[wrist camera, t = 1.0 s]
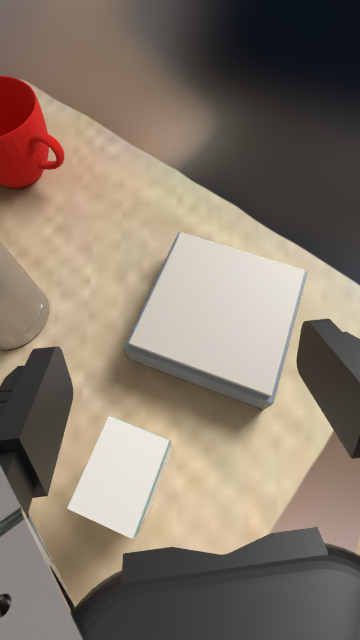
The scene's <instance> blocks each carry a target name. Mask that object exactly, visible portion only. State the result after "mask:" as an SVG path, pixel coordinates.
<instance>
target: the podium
mask: <svg viewBox="0 0 360 640" xmlns="http://www.w3.org/2000/svg"><path fill="white" fill-rule="evenodd" d="M307 273H308V271H305V270H303V269H300V268H297V267H294V266H290V265H287V264H284V263H280V262H277V261H274V260H271V259H267V258H264V257H261V256H258V255H254V254H251V253H248V252H244V251H241V250H238V249H235V248H231V247H228V246H225V245H222V244H218V243H215V242H212V241H208V240H205V239H202V238H199V237H195V236H192V235H189V234H185V233H182V232H181V233H180V232H178V234H177V236H176V239H175V241H174V243H173V245H172V247H171V249H170V251H169V253H168V255H167V258H166V260H165V262H164V264H163V266H162V268H161V270H160V272H159V274H158V277H157V279H156V281H155V283H154V285H153V287H152V289H151V291H150V293H149V296H148V298H147V300H146V302H145V304H144V306H143V308H142V310H141V312H140V315H139V317H138V319H137V321H136V323H135V325H134V327H133V329H132V331H131V334H130V336H129V338H128V340H127V342H126V344H125V346H124V350H125V352H126V354H127V355H128V357H129V359H130V360H132V361H135V362H138V363H140V364H143V365H146V366H148V367H151V368H154V369H156V370H159V371H161V372H164V373H167V374H169V375H172V376H175V377H177V378H180V379H183V380H185V381H188V382H191V383H193V384H196V385H199V386H201V387H204V388H207V389H209V390H212V391H214V392H217V393H220V394H222V395H225V396H228V397H230V398H233V399H236V400H238V401H241V402H244V403H246V404H249V405H252V406H254V407H257V408H260V409H262V410H264V409H265V408H267V407H269V406H270V405H272V404H273V403H274V399H275V395H276V391H277V388H278V384H279V380H280V376H281V372H282V368H283V365H284V361H285V357H286V353H287V349H288V346H289V342H290V338H291V334H292V330H293V326H294V323H295V319H296V315H297V311H298V307H299V304H300V300H301V296H302V292H303V288H304V284H305V281H306V277H307Z"/></svg>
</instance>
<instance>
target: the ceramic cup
mask: <svg viewBox="0 0 360 640" xmlns="http://www.w3.org/2000/svg"><path fill="white" fill-rule="evenodd" d="M49 147H50V148H51V149H52V150H53V152H54V153H55V155H56V161H47V158H48V153H49ZM63 161H64V151H63V149H62V147H61V145H60V144H59V142H58V141H57V140H56V139H55V138H54V137H52V136H51V135H49V134H48V133H47V128H46V124H45V120H44V117H43V114H42V111H41V108H40V105H39V102H38V99H37V97H36V95H35V92H34V91H33V90H32V88H31V87H30V86H29V85H27V84H26V83H24V82H23V81H21V80H18V79H15V78H12V77H7V76H0V185H2V186H7V187H10V188H23V187H27V186H29V185H31V184H33V183H34V182H36V181H37V180H38V179H39V178H40V176H41V174H42V171H43V169H48V170H51V169H56V168H58V167H59V166H61V164H62V163H63Z"/></svg>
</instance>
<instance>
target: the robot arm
mask: <svg viewBox="0 0 360 640" xmlns="http://www.w3.org/2000/svg"><path fill="white" fill-rule="evenodd" d="M48 313H49V305H48V301H47V298H46V296H45V295H44V293H43V292H42V291H41V289H40V288H39V287H38V286H37V285H36V283H35V282H34V281H33V280H32V279H31V277H30V276H29V275H28V274H27V272H26V271H25V270H24V269H23V268H22V266H21V265H20V264H19V263H18V262H17V260H16V259H15V258H14V257H13V256H12V254H11V253H10V252H9V251H8V250H7V248H6V247H5V246H4V245H3V244H2V242H1V241H0V350H10V349H14V348H18V347H20V346H22V345H24V344H26V343H28V342H29V341H31V340H32V339H33V338H34V337H35V336H37V335H38V334H39V332H40V331H41V330H42V328H43V327H44V325H45V323H46V321H47V317H48ZM297 368H298V372H299V374H300V376H301V378H302V380H303V381H304V383H305V384H306V386H307V388H308V389H309V391H310V392H311V394H312V396H313V397H314V399H315V401H316V402H317V404H318V405H319V407H320V409H321V410H322V412H323V413H324V415H325V417H326V418H327V420H328V421H329V423H330V425H331V426H332V428H333V429H334V431H335V432H336V434H337V436H338V437H339V439H340V441H341V442H342V444H343V446H344V447H345V449H346V450H347V452H348V454H349V455H350V457H351V458H352V459H353V458H360V339H359V338H357V337H355V336H353V335H351V334H349V333H348V332H342V331H341V330H340V329H339V328H338V327H337V326H336V325H335V324H334V323H333V322H332V321H331V320H330V319H320V320H311V321H305V322H304V323H303V324H302V328H301V334H300V340H299V347H298V353H297ZM72 400H73V386H72V381H71V378H70V375H69V372H68V368H67V365H66V362H65V359H64V356H63V353H62V350H61V348H60V347H58V346H57V347H47V348H38V349H33V351H32V352H31V354H30V356H29V358H28V360H27V362H26V364H25V366H18V367H17V368H15V369H14V370H13V371H12V372H11V373H10V374H9V375H8V376H7V377H6V378H5V379H4V381H3V383H2V384H1V386H0V640H360V539H359V543H358V546H357V550H356V553H354V552H351V551H349V550H347V549H344V548H341V547H338V546H334V545H331V544H327V543H324V542H323V540H322V537H321V535H320V533H319V530H318V528H317V527H315V528H307V529H300V530H293V531H285V532H278V533H271V534H269V535H266V536H264V537H262V538H260V539H258V540H256V541H254V542H252V543H250V544H248V545H245V546H243V547H241V548H239V549H237V550H235V551H233V552H231V553H228V554H225V555H218V554H212V553H206V552H200V551H193V550H187V549H181V548H175V547H168V548H161V549H154V550H147V551H139V552H132V553H125V554H123V567H122V570H121V571H119V572H117V573H115V574H113V575H112V576H110V577H108V578H107V579H105V580H104V581H102V582H101V583H100V584H98V585H97V586H96V587H95V588H94V589H92V590H91V591H90V592H89V593H88V594H87V595H86V596H85V597H84V598H83V599H82V600H81V601H80V602H79V603H78V605H77V606H76V604H75V602H74V600H73V598H72V596H71V594H70V592H69V591H68V589H67V587H66V585H65V583H64V581H63V579H62V578H61V576H60V574H59V572H58V570H57V568H56V566H55V564H54V562H53V560H52V558H51V556H50V554H49V552H48V550H47V548H46V546H45V544H44V542H43V540H42V538H41V536H40V534H39V532H38V530H37V528H36V526H35V524H34V522H33V520H32V518H31V516H30V514H29V513H28V511H29V508H30V504H31V501H32V498H35V497H43V496H48V492H49V489H50V485H51V481H52V477H53V473H54V469H55V466H56V462H57V458H58V454H59V450H60V447H61V443H62V439H63V435H64V431H65V427H66V424H67V420H68V416H69V412H70V408H71V405H72Z"/></svg>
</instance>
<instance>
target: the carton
mask: <svg viewBox="0 0 360 640" xmlns="http://www.w3.org/2000/svg"><path fill="white" fill-rule="evenodd" d="M173 448H174V447H173V445H172V444H171V441H170V440H168V439H165V438H163V437H160V436H158V435H156V434H153V433H151V432H148V431H146V430H143V429H141V428H139V427H136V426H134V425H131V424H129V423H126V422H124V421H121V420H119V419H117V418H114V417H112V416H109V417H108V419H107V422H106V424H105V426H104V428H103V430H102V433H101V435H100V437H99V439H98V441H97V444H96V446H95V448H94V450H93V452H92V455H91V457H90V459H89V461H88V463H87V466H86V468H85V470H84V472H83V475H82V477H81V479H80V481H79V483H78V486H77V488H76V490H75V492H74V494H73V497H72V499H71V501H70V503H69V505H68V508H67V509H69V510H71V511H73V512H75V513H78V514H80V515H82V516H84V517H86V518H88V519H90V520H93V521H95V522H97V523H99V524H101V525H103V526H105V527H108V528H110V529H112V530H114V531H116V532H118V533H120V534H123V535H125V536H127V537H129V538H131V539H133V538H135V536H136V534H137V533H138V531H139V528H140V526H141V525H142V523H143V521H144V520H145V518H146V517H147V515H148V513H149V512H150V510H151V508H152V506H153V503H154V500H155V497H156V495H157V492H158V489H159V486H160V484H161V481H162V478H163V475H164V472H165V470H166V467H167V464H168V461H169V459H170V456H171V453H172V450H173Z"/></svg>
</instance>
